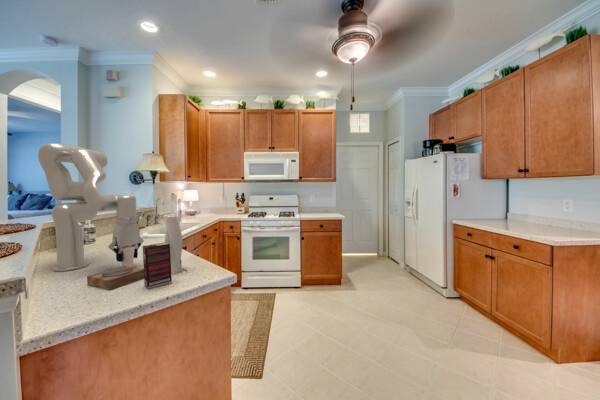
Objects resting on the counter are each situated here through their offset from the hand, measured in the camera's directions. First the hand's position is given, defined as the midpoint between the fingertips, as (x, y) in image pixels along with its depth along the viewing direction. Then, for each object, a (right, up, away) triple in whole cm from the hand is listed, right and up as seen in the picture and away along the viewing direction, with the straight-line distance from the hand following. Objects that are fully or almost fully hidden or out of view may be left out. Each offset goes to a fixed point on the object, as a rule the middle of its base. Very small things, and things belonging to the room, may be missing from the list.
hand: (127, 259), depth 113 cm
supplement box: (+26, -5, -20) cm, 33 cm away
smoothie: (0, -4, 0) cm, 4 cm away
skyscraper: (+25, -5, -4) cm, 26 cm away
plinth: (+7, -5, -15) cm, 18 cm away
